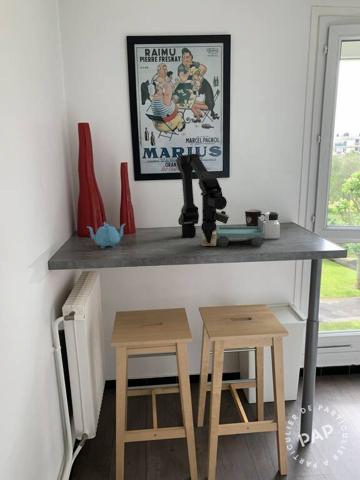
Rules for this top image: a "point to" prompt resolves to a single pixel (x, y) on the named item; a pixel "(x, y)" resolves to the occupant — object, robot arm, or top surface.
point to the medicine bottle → (271, 226)
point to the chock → (213, 240)
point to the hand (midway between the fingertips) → (209, 241)
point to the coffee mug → (252, 217)
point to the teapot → (107, 235)
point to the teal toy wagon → (241, 234)
